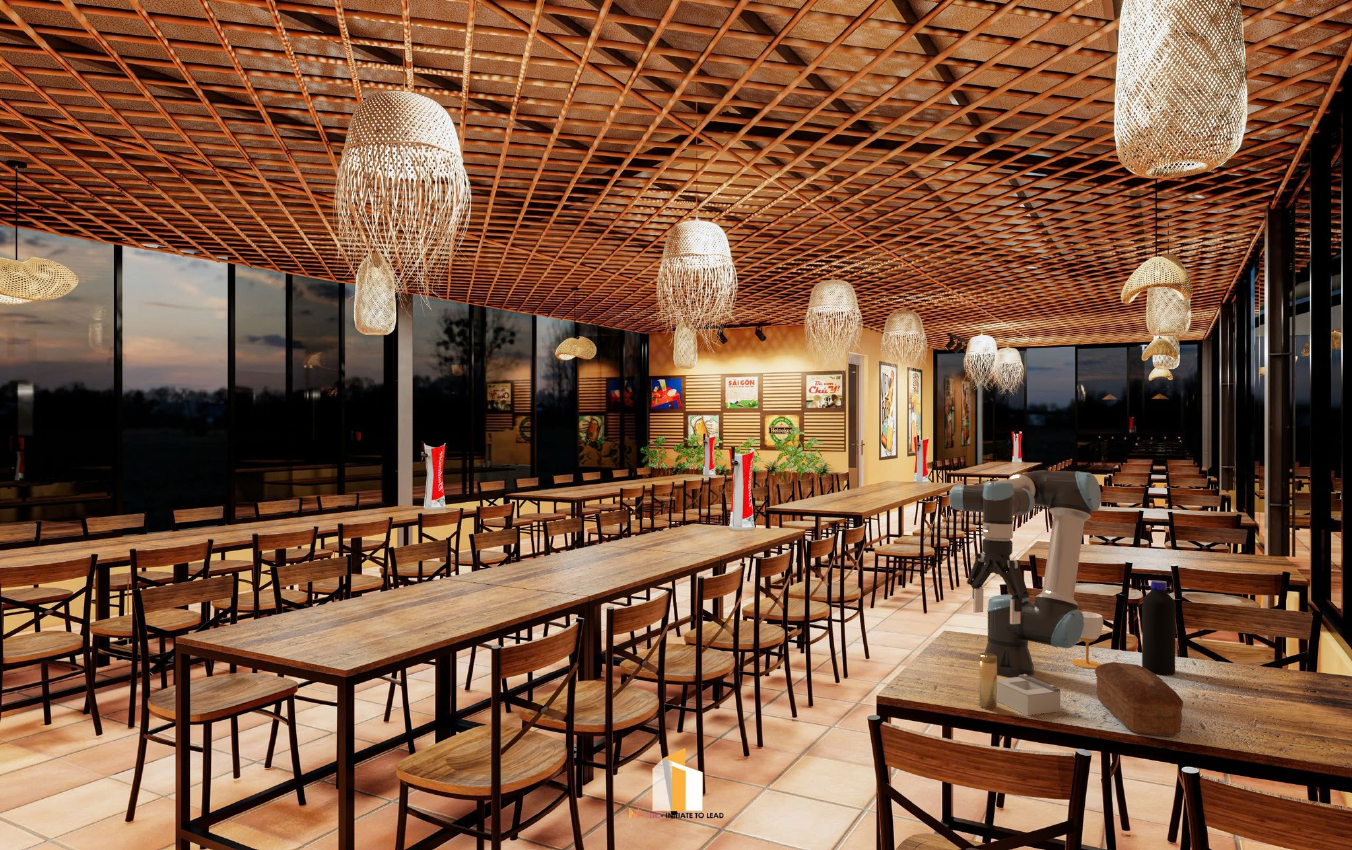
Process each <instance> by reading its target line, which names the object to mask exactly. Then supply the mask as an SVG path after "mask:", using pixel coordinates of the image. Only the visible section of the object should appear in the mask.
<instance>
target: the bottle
mask: <svg viewBox="0 0 1352 850" xmlns="http://www.w3.org/2000/svg"><path fill="white" fill-rule="evenodd" d="M1167 586H1168V585H1167V582H1166V581H1163V580H1151V581H1150V591H1149V592H1148V593H1147V594H1146V595H1144V596H1143V597H1142V600H1141V601H1142V606H1141V607H1142V609H1141V610H1142V612H1141V613H1142V614H1141V615H1142V617H1141V618H1142V619H1141V622H1142V625H1141V627H1142V628H1141V630H1142V631H1141V632H1142V633H1141V635H1142V636H1141V637H1142V640H1141V641H1142V642H1141V644H1142V645H1141V667H1144V668H1146V669H1148V670H1149V671H1151V672H1152V673H1154V674H1155V675H1156V676H1159V675H1160V676H1173V675H1175V674H1176V609H1177V607H1176V606H1177V605H1176V601H1175V599H1174V598H1173V597H1172V596H1171V595H1170V594H1169V593H1168V590H1167Z"/></svg>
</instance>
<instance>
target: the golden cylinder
mask: <svg viewBox="0 0 1352 850" xmlns="http://www.w3.org/2000/svg"><path fill="white" fill-rule="evenodd" d="M978 667H979V671H978V672H979V674H978V675H979V676H978V677H979V678H978V679H979V682H978V683H979V687H978V692H979V695H978V696H979V697H978V699H979V700H978V701H979V703H978V707H979V706H981V707H983V708H985V709H984V710H987V709H989V711H992V710H993V711H994V709H995V710H997V709H996V708H997V707H998V706H997V703H998V701H997V679H998V674H997V655H995V654H992V653H985V652H981V653H979V666H978ZM981 707H980V708H981ZM983 708H982V709H983Z"/></svg>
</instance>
